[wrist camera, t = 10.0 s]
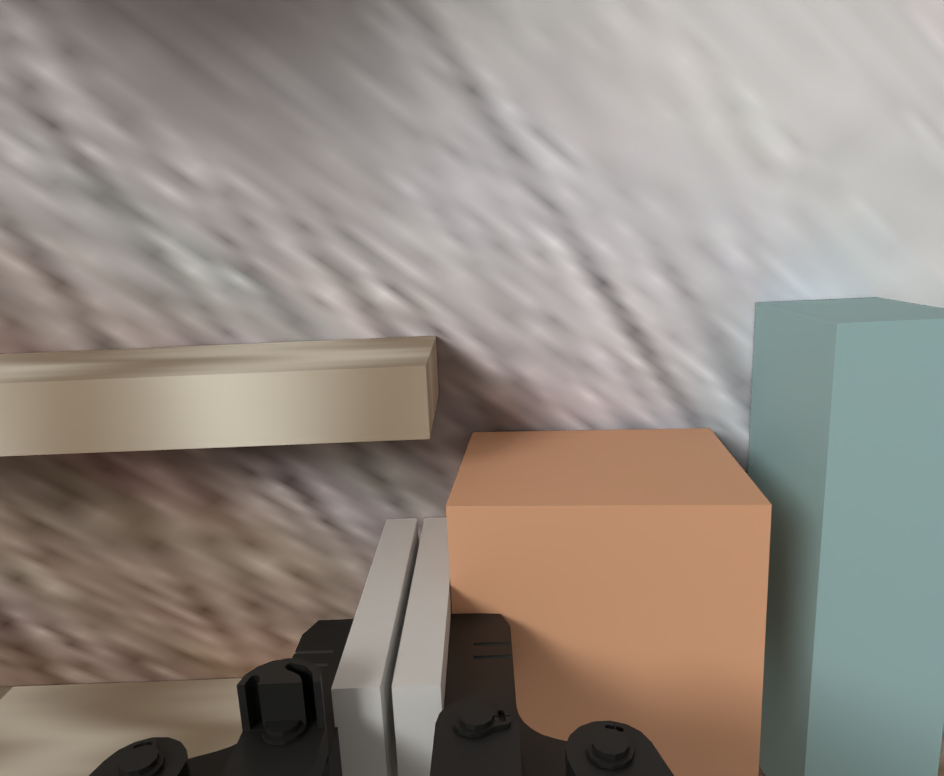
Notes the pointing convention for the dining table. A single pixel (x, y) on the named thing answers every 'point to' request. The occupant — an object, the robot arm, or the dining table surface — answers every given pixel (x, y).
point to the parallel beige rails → (187, 427)
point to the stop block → (851, 534)
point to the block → (622, 583)
